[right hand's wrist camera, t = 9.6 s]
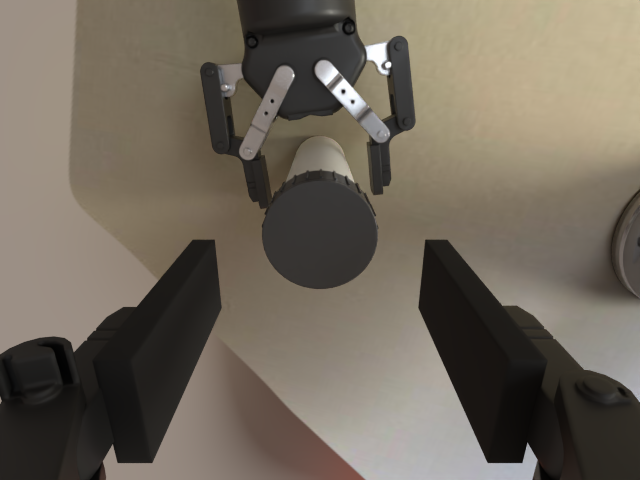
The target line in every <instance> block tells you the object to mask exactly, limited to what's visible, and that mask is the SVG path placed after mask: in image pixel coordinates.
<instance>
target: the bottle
mask: <svg viewBox="0 0 640 480" xmlns="http://www.w3.org/2000/svg"><path fill="white" fill-rule="evenodd" d="M320 169H322V170H324V171H331V172H333V171H335V172H336V173H338V174H341V175H343V176H348V178H349V179H350V180H351V181H353V182H354V179H353V177H352V174H351V171H350V168H349V166H348V163H347V160H346V157H345V155H344V152H343V150H342V148H341V146H340V145H339V144H338V143H337V142H336V141H335V140H333V139H331V138H329V137H326V136H314V137H311V138H309V139H307V140H305V141H304V142H303V143H302V144H301V145H300V146H299V148H298V150H297V152H296V155H295V158H294V160H293V163H292V166H291V169H290V171H289V174H288V177H287V180H286V182H287V181H288V180H290V179H292V178H293V177H294V175H295V174H296V176H297V175H299V174H302V173H305V172H306V171H307V170H309V171H316V170H320ZM286 182H285V183H286ZM354 183H355V182H354Z"/></svg>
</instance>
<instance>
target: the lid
mask: <svg viewBox="0 0 640 480" xmlns="http://www.w3.org/2000/svg"><path fill="white" fill-rule="evenodd" d="M265 215H266V217H265V219H264V222H263V224H262V240H263V246H264V250H265V253H266V255H267V257H268V259H269V261H270V263H271V264H272V265H273V267H274V268H275V269H276V270H277V271H278V272H279V273H280V274H281V275H282V276H283V277H285V278H286V279H288V280H289V281H291V282H293V283H295V284H297V285H300V286H303V287H307V288H314V289H327V288H333V287H337V286H340V285H343V284H345V283H347V282H349V281H351V280H352V279H354V278H355V277H357V276H358V275H359V274H360V273H361V272H362V271H363V270H364V269H365V268H366V267H367V266H368V264H369V263H370V261H371V259H372V257H373V255H374V253H375V250H376V246H377V240H378V226H377V223H376V219H375V216H376V214H375V212H374V210H373V207H372V205H371V204H370V201H369V199H368V197H367V195H366V193H363V191H362V190H361V189H360V187H359V185H358V183H356V184H355V183H354V182H353V181H351V180H350V179H349V178H348V176H343V175H341V174H338V173H336V172H335V171H333V172H331V171H324V170H322V169H320V170H316V171H309V170H307V171H306V172H305V173H302V174H299V175H297V176H296V174H295V175H294V177H293V178H292V179H290V180H288V181H287V182H286V183H285V182H283V184H282V187H281V188H280V189H279V190H278V191H277V192H276V191H275V193H274V195H273V198H272V200H271V203H270V202H269V205H268V207H267V209H266V212H265Z"/></svg>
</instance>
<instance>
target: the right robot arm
mask: <svg viewBox="0 0 640 480" xmlns="http://www.w3.org/2000/svg"><path fill="white" fill-rule="evenodd" d="M611 253H612V263H613V267H614V270H615V273H616V275H617V277H618V279H619V280H620V282H621V283H622V284H623V285H624V287H625V288H626V289H628V290H629V291H630V292H631V293H633V294H634V295H636V296H637V297H639V298H640V192H639V193H638V194H637V195H636V196H635V197H634V199H633V200H632V201H631V202H630V204H629V205H628V207H627V208H626V209H625V211H624V213H623V214H622V216H621V218H620V220H619V222H618V225H617V227H616V230H615V233H614V237H613V242H612V252H611ZM220 310H221V298H220V288H219V278H218V268H217V258H216V249H215V240H192V241H191V243H190V244H189V245H188V246H187V247H186V249H185V250H184V251H183V252H182V253H181V255H180V256H179V257H178V258H177V259H176V261H175V262H174V263H173V264H172V265H171V267H170V268H169V269H168V270H167V271H166V273H165V274H164V275H163V276H162V277H161V279H160V280H159V281H158V282H157V283H156V285H155V286H154V287H153V288H152V289H151V291H150V292H149V293H148V294H147V295H146V297H145V298H144V299H143V300H142V301H141V303H140V304H139V305H138V306H137V307H123V308H121V309H120V310H118V311H116V312H115V313H113V314H111V315H110V316H108V317H107V318H106V319H105V320H104V321H103V322H102V323H101V324H100V325H99V326H98V327H97V328H96V331H94V332H93V333H92V334H91V335H90V336H89V337H88V338H87V341H84V342H83V343H82V344H81V346H80V347H79V348H78V349H77V350H76V351H75V352H73V349H72V345H71V342H70V341H68V340H67V339H65V338H60V337H44V338H38V339H34V340H30V341H26V342H23V343H21V344H19V345H16V346H14V347H12V348H10V349H8V350H6V351H5V352H3V353H2V354H0V397H1V400H2V402H1V404H0V480H106V475H105V468H104V465H103V460H104V458H105V456H106V455H107V453H108V451H109V449H110V448H111V446H112V444H113V446H114V450H115V454H116V458H117V462H118V463H152V462H153V460H154V458H155V456H156V453H157V451H158V449H159V447H160V445H161V442H162V440H163V438H164V436H165V433H166V431H167V429H168V427H169V424H170V422H171V420H172V418H173V415H174V413H175V411H176V409H177V406H178V404H179V402H180V400H181V398H182V395H183V393H184V391H185V389H186V386H187V384H188V382H189V380H190V377H191V375H192V373H193V371H194V368H195V366H196V364H197V362H198V359H199V357H200V355H201V353H202V351H203V348H204V346H205V344H206V342H207V339H208V337H209V335H210V333H211V330H212V328H213V326H214V324H215V321H216V319H217V317H218V315H219V312H220ZM419 310H420V312H421V315H422V317H423V319H424V321H425V324H426V326H427V328H428V330H429V333H430V335H431V337H432V339H433V342H434V344H435V346H436V348H437V351H438V353H439V355H440V357H441V359H442V362H443V364H444V366H445V368H446V371H447V373H448V375H449V377H450V380H451V382H452V384H453V386H454V389H455V391H456V393H457V395H458V398H459V400H460V402H461V404H462V406H463V409H464V411H465V413H466V415H467V418H468V420H469V422H470V424H471V427H472V429H473V431H474V433H475V436H476V438H477V440H478V442H479V445H480V447H481V449H482V451H483V453H484V456H485V458H486V460H487V462H488V463H522V462H523V458H524V454H525V450H526V446H527V442H528V444H529V446H530V447H531V449H532V451H533V452H534V454H535V456H536V458H537V459H538V461H537V465H536V468H535V472H534V476H533V480H640V402H639V401H638V399H637V398H636V397H635V396H634V394H633V393H632V392H631V391H630V390H629V389H628V388H626V387H625V386H624V385H622V384H621V383H620V382H618V381H616V380H614V379H612V378H610V377H608V376H606V375H603V374H600V373H597V372H593V371H590V370H584V369H583V368H582V367H581V366H580V365H579V364H578V363H577V362H576V361H575V360H574V359H573V358H572V357H571V355H570V354H569V353H568V352H567V351H566V350H565V349H564V348H563V347H562V346H561V345H560V344H559V343H558V342H557V340H556V339H553V336H552V335H551V334H550V333H549V332H548V331H547V330H546V329H544V327H543V326H542V324H541V323H540V322H539V321H538V320H537V319H536V318H535V317H534V316H533V315H531V314H530V313H528V312H526V311H525V310H523V309H521V308H520V307H518V306H502V305H501V304H500V303H499V301H498V300H497V299H496V298H495V297H494V295H493V294H492V293H491V292H490V291H489V289H488V288H487V287H486V286H485V285H484V283H483V282H482V281H481V280H480V279H479V277H478V276H477V275H476V274H475V273H474V271H473V270H472V269H471V268H470V267H469V265H468V264H467V263H466V262H465V261H464V259H463V258H462V257H461V256H460V255H459V253H458V252H457V251H456V250H455V249H454V247H453V246H452V245H451V244H450V243H449V241H448V240H425V249H424V258H423V268H422V278H421V288H420V298H419Z"/></svg>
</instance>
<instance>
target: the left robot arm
mask: <svg viewBox="0 0 640 480" xmlns="http://www.w3.org/2000/svg"><path fill="white" fill-rule="evenodd" d="M237 4H238V9H239V15H240V21H241V26H242V32H243V38H244V44H245V53H244V58H243V61H242V63H238V64H225V65H219V64H215V63H210V62H207V63H204V64H203V65H202V67H201V70H200V73H201V79H202V85H203V92H204V98H205V104H206V110H207V117H208V123H209V129H210V135H211V142H212V147H213V149H214V151H215V152H216V153H218V154H228V155H233V156H236V157H238V158H239V159H240V160H241V161H242V163H243V167H244V172H245V177H246V182H247V187H248V192H249V196H250V198H251V199H252V201H253V202H257V201H259V206H260V208H261V209H263V208H267V207H268V205H269V202H270V203H271V200H272V195H271V189H270V184H269V178H268V172H267V167H266V161H265V155H261V151H260V150H261V148H262V146H263V144H264V142H265V140H266V138H267V136H268V134H269V132H270V131H271V129H272V127H273V125H274V123H275V121H276V120H277V118H278V116H280V117H282V118H284V119H288V121H290V120H297V119H301V118H303V117H306V116H308V115H317V116H327V115H333V113H336V112H337V111H339V110H340V109H341V108H342V107H344V108H345V109H346V110H347V111H348V112H349V113H350V114H351V115H352V116H353V118H354V119H355V120H356V121H357V122H358V123H359V124H360V125H361V126H362V127H363V128H364V129H365V131H366V132H367V133H368V134H369V140H370V142H367V151H368V163H369V175H370V186H371V191H372V193H373V195H380V194H383V186H389V184H390V180H391V171H390V170H391V169H390V154H389V143H390V140H391V139H392V138H393V137H394V136H395V135H397V134H399V133H401V132H403V131H407V130H410V129H412V128H413V127H414V125H415V111H414V101H413V91H412V81H411V71H410V61H409V50H408V42H407V40H406V39H405V38H404V37H402V36H396V37H394V38H392V39H390V40H389V41H386V42H381V43H376V44H372V45H367V46H364V45H363V43H362V41H361V40H360V38H359V35H358V32H357V25H356V13H355V1H354V0H237ZM366 61H370V62H372V63H373V64H374V65H375V67H376V70H377V72H378V73H379V74H380V75H387V82H388V90H389V99H390V107H391V116H389V117H387V118H385V119H383V120H380V119H379V117H378V116H377V115H376V114H375V113H374V112H373V111H372V109H371V108H370V107H369V106H368V104H367V103H366V102H365V101H364V100H363V99H362V98H361V97H360V95H359V94H358V93H357V92H356V91H355V90H354V89H353V87H354V85H355V83H356V81H357V79H358V77H359V76H360V74H361V72H362V70H363V68H364V66H365V64H366ZM243 78H244V79H245V81H246V82H247V83H248V84H249V85H250V86H251V87H252V89H253V90H254V91H255V92H256V93H257V94H258V95H259V96H260V97H261V98H262V99H263V100H262V102H261V104H260V106H259V108H258V110H257V112H256V114H255V116H254V118H253V120H252V122H251V125H250V128H249V130H248V132H247V134H246V136H245V138H243V137H239V136H235V130H234V123H233V116H232V109H231V101H230V97H231V96H234V95H235V94H236V93H237V90H238V83H239V81H240V80H241V79H243Z"/></svg>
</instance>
